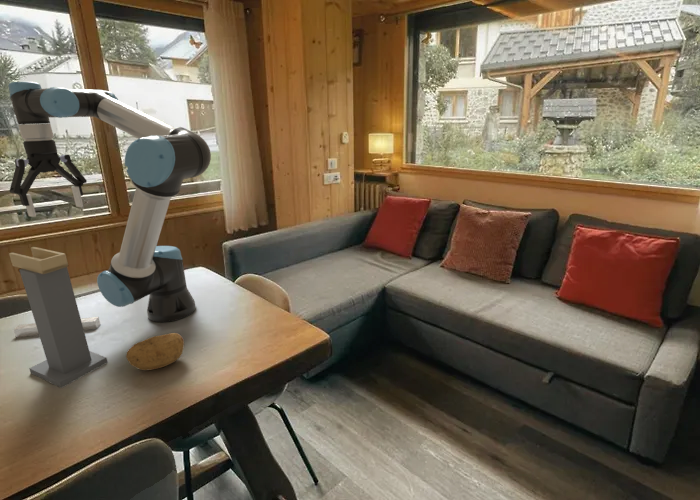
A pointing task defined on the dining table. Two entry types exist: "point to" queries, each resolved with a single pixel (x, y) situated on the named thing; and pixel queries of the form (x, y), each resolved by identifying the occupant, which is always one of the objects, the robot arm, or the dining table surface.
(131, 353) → the potato
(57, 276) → the stand
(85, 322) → the rail
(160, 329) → the dining table surface
